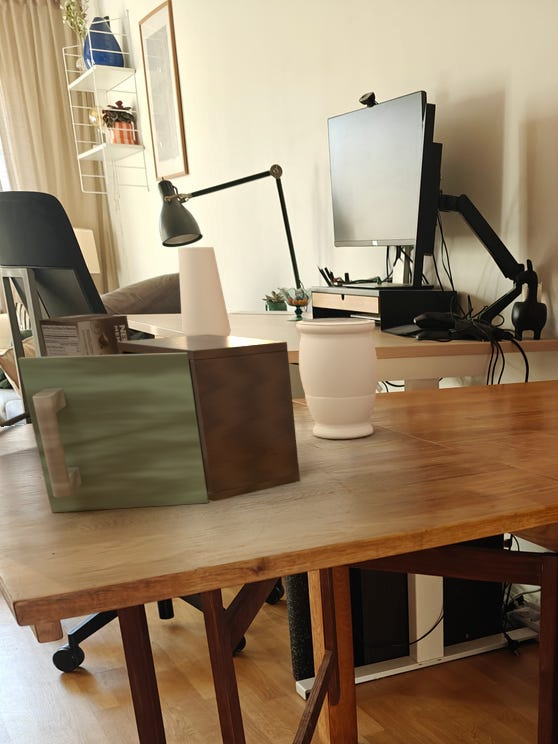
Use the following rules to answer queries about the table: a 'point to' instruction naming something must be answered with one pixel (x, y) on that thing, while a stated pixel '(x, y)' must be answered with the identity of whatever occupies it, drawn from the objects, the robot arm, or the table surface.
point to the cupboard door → (115, 430)
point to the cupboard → (237, 409)
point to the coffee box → (84, 334)
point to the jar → (339, 375)
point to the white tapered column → (201, 293)
